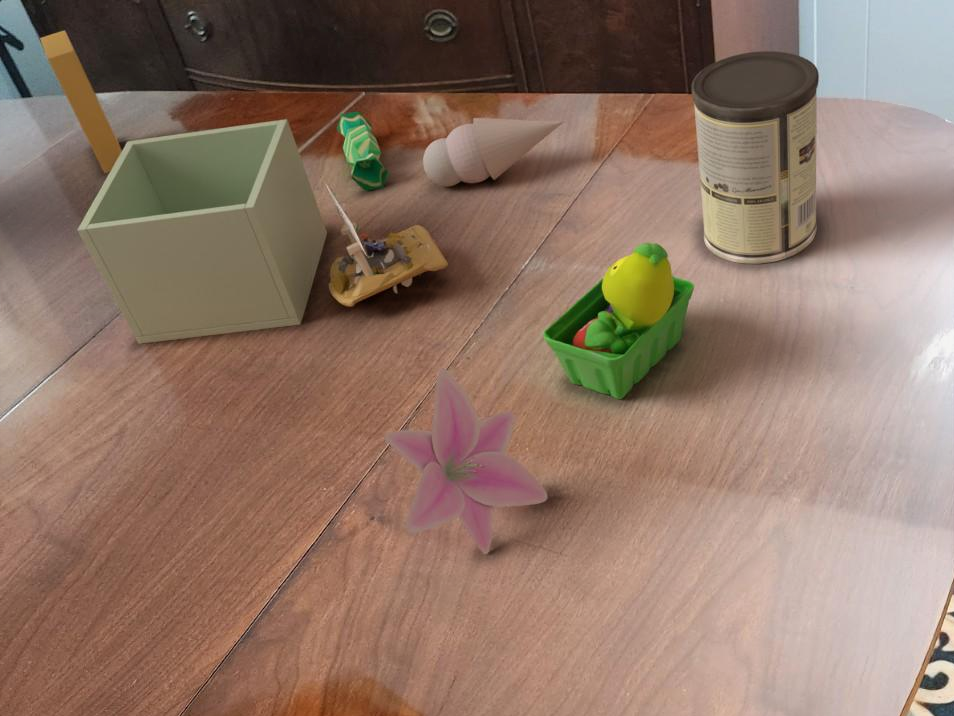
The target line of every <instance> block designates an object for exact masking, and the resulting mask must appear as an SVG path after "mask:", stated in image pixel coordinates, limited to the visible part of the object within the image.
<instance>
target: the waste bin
mask: <svg viewBox="0 0 954 716" xmlns="http://www.w3.org/2000/svg"><path fill="white" fill-rule="evenodd" d="M96 194H97V195H96V196H95V198H94V200H93V201H92V203H91V205H90V206H89V208H88V211H87V212H86V213H85V215H84V217H83V219H82V221H81V223H80V225H79V226H78V228H77V232H78V234H79V236H80V238H81V239H82V242H83V243H84V245H85V248H86V249H87V251H88V253H89V255H90V257H91V258H92V260H93V262H94V265H95V266H96V267H97V269H98V271H99V273H100V276H101V277H102V279H103V280H104V283H105V284H106V286H107V288H108V290H109V291H110V294H111V295H112V297H113V299H114V301H115V304H116V305H117V306H118V309H119V310H120V312H121V314H122V316H123V318H124V320H125V322H126V323H127V325H128V327H129V329H130V331H131V333H132V334H133V336H134V337H135V340H136V342H137V343H138V344H139V345H141V344H148V343H158V342H166V341H175V340H182V339H192V338H201V337H208V336H216V335H217V336H218V335H224V334H233V333H242V332H251V331H257V330H267V329H274V328H282V327H291V326H300V325H301V324H302V321H303V317H304V315H305V311H306V308H307V304H308V301H309V297H310V293H311V290H312V286H313V283H314V281H315V280H314V279H315V276H316V273H317V269H318V266H319V263H320V259H321V256H322V253H323V249H324V245H325V242H326V238H327V235H328V231H327V228H326V225H325V221H324V220H323V217H322V214H321V211H320V209H319V205H318V202H317V199H316V197H315V194H314V192H313V188H312V186H311V183H310V180H309V178H308V174H307V171H306V169H305V166H304V163H303V160H302V157H301V155H300V151H299V149H298V146H297V143H296V140H295V138H294V135H293V132H292V129H291V127H290V123H289V120H288V119H287V118H285V119H279V120H278V119H277V120H273V121H272V120H271V121H265V122H257V123H250V124H242V125H234V126H228V127H227V126H226V127H220V128H214V129H206V130H199V131H191V132H183V133H178V134H171V135H162V136H155V137H148V138H141V139H136V140H134V139H133V140H128V141H127V142H126V143H125V145H124V147H123V149H122V152H121V154H120V156H119V157H118V159H117V161H116V163H115V164H114V166H113V168H112V170H111V171H110V172H108V175H107V177H106V179H105V180H104V182H103V184H102V186H101V187H100V189H99V191H98V193H96Z"/></svg>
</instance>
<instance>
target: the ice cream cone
mask: <svg viewBox="0 0 954 716" xmlns="http://www.w3.org/2000/svg"><path fill="white" fill-rule="evenodd" d="M472 119H473V120H472V123H465V124H461V125H459V126H457V127H455V128H453V129H452V130H451V131H450V133H449V134H448V135H447V137H441V138H438V139H436V140H434V141H431V143H429V145H428V146H427V147H426V149H425V151H424V153H423V157H422V158H423V160H422V164H423V170H424V172H425V174H426V176H427V177H428V179H430V181H431V182H433V183H434V184H435V185H438V186H440V187H453V186H457V184H459V183H461V182H463V183H467V184H477V183H481V182H483V181H486V180H487V179H489V177H491V178H492V180H494V181H495V180H496V179H498V178H499V177H500V176H501V175H502V174H503V173H505V172H506V171H507V170H508V169H510V168H511V167H512V166H513V165H514V164H516V163H517V162H518V161H519V160H521V158H523V157H524V156H525V155H527V153H528V152H529V151H531V150H532V149H534V148H535V147H536V146H537V145H538V144H539V143H541V141H543V140H544V139H545V138H546V137H548V136H549V135H550V134H551V133H553V131H555V130H556V129H557V128H558V127H560V125H562V124H563V123H564V121H563V120H562V121H561V120H560V121H559V120H537V119H511V118H510V119H509V118H492V117H491V118H490V117H489V118H488V117H473V118H472Z"/></svg>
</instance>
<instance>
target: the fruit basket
mask: <svg viewBox="0 0 954 716" xmlns="http://www.w3.org/2000/svg"><path fill="white" fill-rule="evenodd" d="M668 257H669V255H668V252H667V251H666V249H665V248H664V247H663V246H661V244H658V243H657V242H656V243H655V242H654V243H651V242H644V243H641V244H640V245H638V246H637V247H636V248H634V250H633V253H632V254H629V255H626V256H623V257H622V258H620V259H618V260H617V261H616V262H614V263H613V264H612V265H610V266H609V267H608V268H607V271H606V272H605V273H604V276H603V277H602V278H601V279H600V280H599V281H598V282H597V283H596V284H595V285H594V286H593V287H591V288H590V289H589V290H588V291H587V292H586V293H585V294H584V295H583V296H582V297H580V298H579V299H578V300H577V301H576V302H575V303H573V305H572V306H570V307H569V308H568V309H567V310H566V311H565V312H564V313H563V314H561V316H560V317H558V319H556V320H555V321H554V322H552V323H551V324H550V325H549V326H548V327H547V328H546V329H545V330H544V331H543V332H542V337H543V339H544V340H545V342H546V344H547V345H548V347H549V348H550V349H552V351H553V353H554V355H555V356H556V359H557V361H558V362H559V363H560V365H561V367H562V369H563V371H564V372H565V374H566V376H567V378H568V379H569V382H570V383H571V384H573V385H579V386H582V387H584V388H585V389H587V390H591V391H593V392H597V393H600V394H602V395H608V396H609V395H611V397H613V398H614V399H617V400H622V399H623V398H625V397H626V396H627V394H628V393H630V391H632V389H633V387H634V385H636V384H638V383H639V382H640V381H641V380H643V378H644V377H646V375H647V374H648V373H649V371H650V369H651V368H652V367H654V366H656V365H657V364H658V363H659V362H660V361H661V360H662V359H663V358H664V357H665V356H666V354H667V351H670V350H671V349H673V348H674V347H675V346H676V345H677V344H678V343H679V342H680V341H681V339H682V333H683V330H684V325H685V322H686V321H685V320H686V315H687V311H688V308H689V307H688V306H689V303H690V300H691V299H692V296H693V292H694V289H695V284H694V283H693V282H691V281H689V280H687V279H682V278H679V277H676V276H673V274H672V266H671V263H670V261H669V259H668Z"/></svg>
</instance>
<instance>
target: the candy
mask: <svg viewBox="0 0 954 716" xmlns="http://www.w3.org/2000/svg"><path fill="white" fill-rule="evenodd" d="M336 130H337V132H339V134H340V135H341V136H342V137H343V138H345V139H344V141H343V145H342V150H343V152H344V155H345V160H346V162H347V164H348V166H350V167H351V168H352V169H351V179H352V180H353V181H354V182H355V183H356V184H357V185H358V186H359V187H360V188H361V189H362V190H363V191H364V192H367V191H372V190H378V189H382V188H384V187H385V184H386V180H387V178H388V175H389V171H388V169H387V168H386V167H385V165H383V164H382V162H381V160H380V157H381V155H382V151H381V149H380V146H379V143H378V141H377V137H375V136H374V134H373V132H372V123H371V122H370V121H369V120H368V119H367V118H366V117H365V116H364V115H363V114H362V113H361V112H360V111H359V110H357V111H351V112H345V113H341V114H340V115H339V120H338V123H337V126H336Z"/></svg>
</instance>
